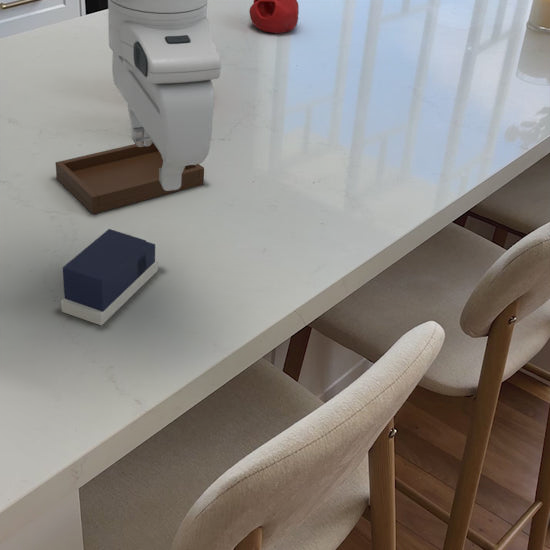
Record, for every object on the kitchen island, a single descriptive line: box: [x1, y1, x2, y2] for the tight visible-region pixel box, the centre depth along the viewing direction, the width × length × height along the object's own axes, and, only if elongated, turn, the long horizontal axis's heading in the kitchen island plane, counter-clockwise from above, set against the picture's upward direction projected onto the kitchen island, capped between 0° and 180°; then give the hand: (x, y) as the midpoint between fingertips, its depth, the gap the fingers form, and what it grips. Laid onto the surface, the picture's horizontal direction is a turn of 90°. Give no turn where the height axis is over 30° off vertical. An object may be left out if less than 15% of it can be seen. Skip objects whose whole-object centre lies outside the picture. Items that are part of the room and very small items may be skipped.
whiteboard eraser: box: [60, 228, 159, 326], centre depth 97 cm, size 12×5×6 cm, turn 157°
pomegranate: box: [248, 0, 300, 34], centre depth 173 cm, size 10×10×9 cm
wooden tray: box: [55, 141, 205, 215], centre depth 119 cm, size 17×11×2 cm, turn 127°
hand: (155, 164), depth 89 cm, fingers open, 8 cm apart
